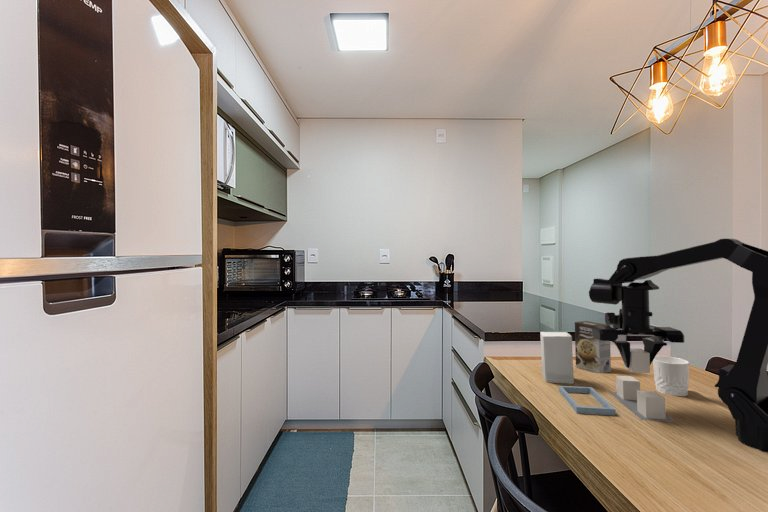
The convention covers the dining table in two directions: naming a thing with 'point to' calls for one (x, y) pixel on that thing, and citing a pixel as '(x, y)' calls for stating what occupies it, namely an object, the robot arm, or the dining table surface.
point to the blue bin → (604, 410)
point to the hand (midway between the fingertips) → (636, 367)
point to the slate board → (633, 408)
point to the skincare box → (557, 357)
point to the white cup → (671, 375)
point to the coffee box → (591, 349)
